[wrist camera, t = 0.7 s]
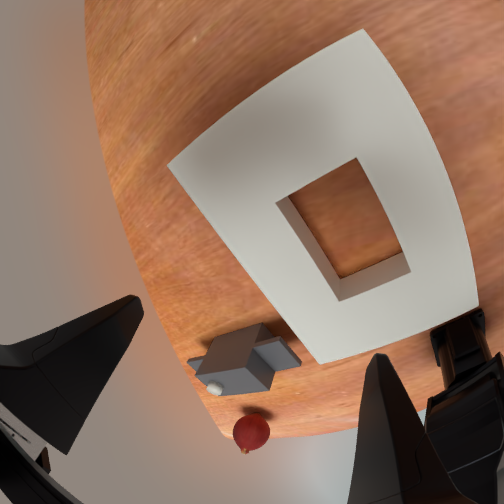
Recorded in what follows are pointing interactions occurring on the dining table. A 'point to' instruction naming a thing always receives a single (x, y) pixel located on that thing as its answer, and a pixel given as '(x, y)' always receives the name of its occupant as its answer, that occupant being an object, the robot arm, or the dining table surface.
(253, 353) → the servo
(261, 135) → the frame
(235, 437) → the onion
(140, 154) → the dining table surface
